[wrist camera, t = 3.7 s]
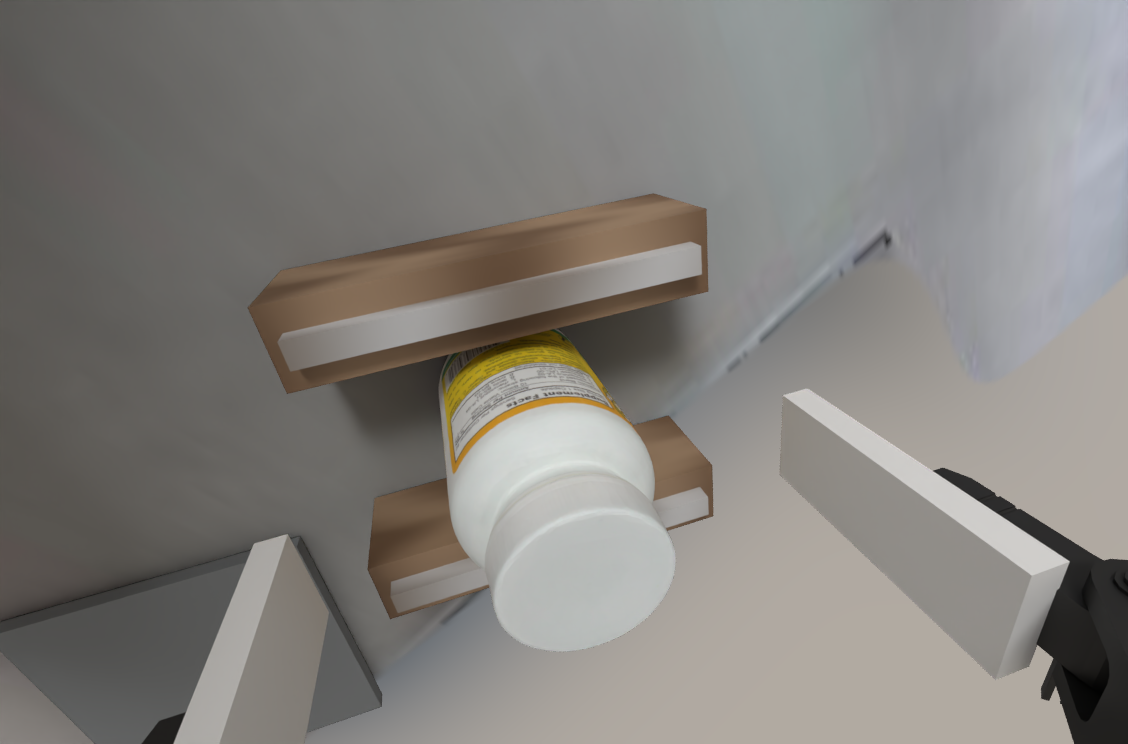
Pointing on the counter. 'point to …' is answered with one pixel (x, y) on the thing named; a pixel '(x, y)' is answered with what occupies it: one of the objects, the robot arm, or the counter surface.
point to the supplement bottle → (551, 493)
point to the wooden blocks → (478, 318)
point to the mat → (163, 652)
